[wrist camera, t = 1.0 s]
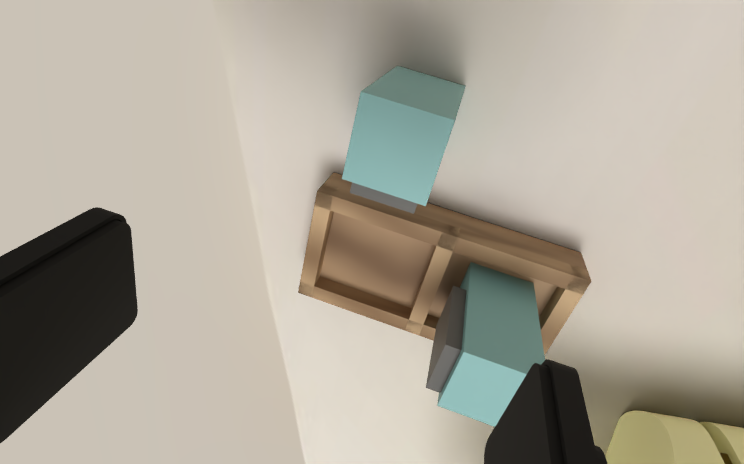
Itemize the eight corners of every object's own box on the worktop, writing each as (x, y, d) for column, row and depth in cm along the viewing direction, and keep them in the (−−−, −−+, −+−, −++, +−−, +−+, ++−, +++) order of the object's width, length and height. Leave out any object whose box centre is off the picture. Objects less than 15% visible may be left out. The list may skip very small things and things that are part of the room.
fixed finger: (458, 257, 27) (447, 346, 20) (533, 282, 27) (548, 381, 20) (438, 305, 29) (422, 400, 22) (508, 329, 29) (513, 433, 22)
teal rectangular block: (377, 144, 27) (338, 194, 20) (397, 65, 24) (360, 91, 18) (439, 164, 27) (420, 221, 20) (465, 85, 24) (455, 120, 17)
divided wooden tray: (333, 172, 28) (317, 190, 26) (581, 252, 27) (591, 281, 24) (314, 267, 33) (298, 292, 30) (528, 342, 31) (531, 375, 28)
